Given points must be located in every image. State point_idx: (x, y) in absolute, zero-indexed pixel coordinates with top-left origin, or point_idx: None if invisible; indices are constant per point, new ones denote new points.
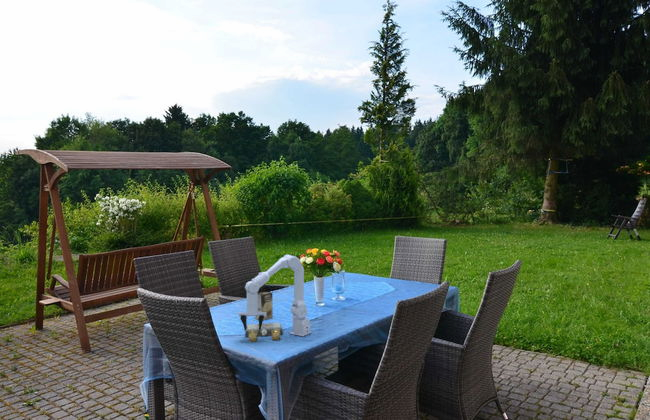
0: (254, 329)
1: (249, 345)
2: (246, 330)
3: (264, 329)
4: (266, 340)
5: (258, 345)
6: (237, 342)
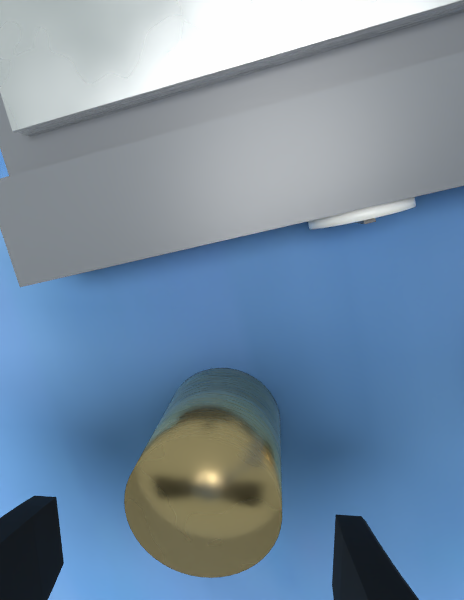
0: (165, 204)
1: (220, 582)
2: (32, 272)
3: (379, 199)
4: (410, 414)
5: (330, 591)
6: (45, 473)
